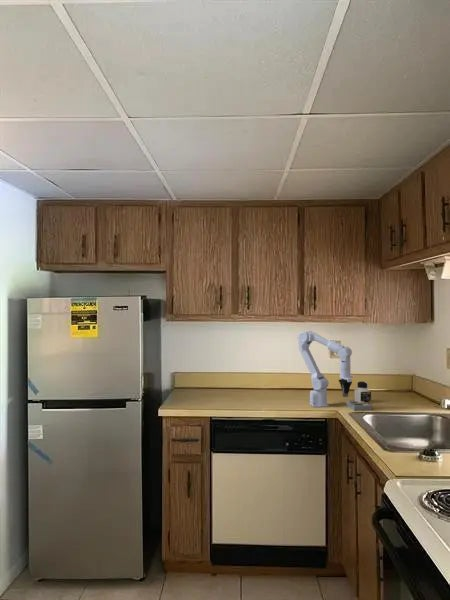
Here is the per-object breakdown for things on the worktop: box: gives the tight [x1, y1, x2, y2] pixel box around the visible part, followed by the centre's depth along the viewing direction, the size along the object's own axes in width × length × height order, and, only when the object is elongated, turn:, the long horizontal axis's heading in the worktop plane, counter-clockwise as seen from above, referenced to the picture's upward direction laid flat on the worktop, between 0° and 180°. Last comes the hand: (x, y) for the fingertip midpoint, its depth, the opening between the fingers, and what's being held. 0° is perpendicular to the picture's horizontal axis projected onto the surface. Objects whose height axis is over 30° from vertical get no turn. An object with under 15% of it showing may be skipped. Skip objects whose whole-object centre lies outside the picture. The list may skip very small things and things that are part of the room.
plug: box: [342, 388, 349, 398], centre depth 274 cm, size 3×3×7 cm
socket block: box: [345, 400, 373, 412], centre depth 276 cm, size 10×13×3 cm
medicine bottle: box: [354, 381, 372, 404], centre depth 293 cm, size 7×7×12 cm
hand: (345, 392), depth 274 cm, fingers closed on plug, 3 cm apart
